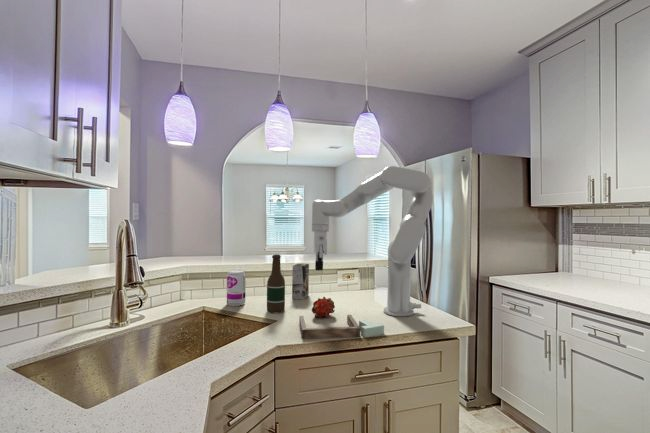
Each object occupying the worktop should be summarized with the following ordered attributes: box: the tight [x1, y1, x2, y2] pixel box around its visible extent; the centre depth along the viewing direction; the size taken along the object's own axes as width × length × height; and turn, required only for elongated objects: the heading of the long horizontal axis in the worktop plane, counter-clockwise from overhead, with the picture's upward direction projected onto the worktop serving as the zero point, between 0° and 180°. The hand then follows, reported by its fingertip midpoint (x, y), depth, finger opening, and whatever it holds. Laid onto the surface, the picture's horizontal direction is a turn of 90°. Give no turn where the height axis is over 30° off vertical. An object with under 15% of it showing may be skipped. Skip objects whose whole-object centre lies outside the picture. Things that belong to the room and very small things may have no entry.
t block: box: [358, 319, 385, 338], centre depth 127 cm, size 8×8×3 cm
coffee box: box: [291, 263, 310, 300], centre depth 176 cm, size 9×6×16 cm
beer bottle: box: [266, 254, 286, 314], centre depth 151 cm, size 8×8×24 cm
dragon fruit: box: [311, 296, 336, 319], centre depth 144 cm, size 8×8×12 cm
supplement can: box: [226, 269, 247, 307], centre depth 161 cm, size 8×8×15 cm
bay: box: [298, 314, 361, 340], centre depth 128 cm, size 20×16×3 cm
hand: (319, 269), depth 155 cm, fingers closed
